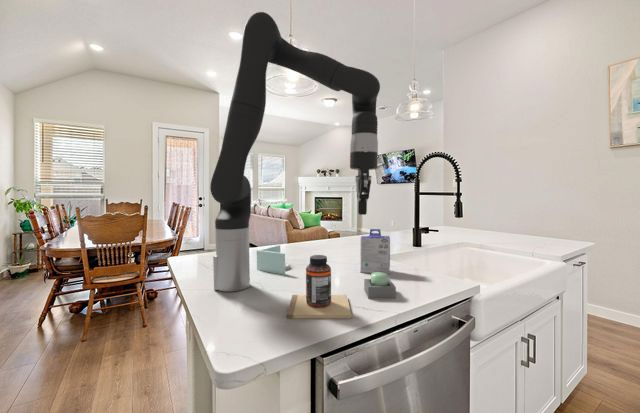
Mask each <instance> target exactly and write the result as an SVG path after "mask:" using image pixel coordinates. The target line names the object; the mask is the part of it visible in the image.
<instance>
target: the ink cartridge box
mask: <svg viewBox="0 0 640 413" xmlns="http://www.w3.org/2000/svg"><path fill="white" fill-rule="evenodd" d="M381 232H382V231H381V228H380V229H378V228H376V229H375V228H374V229H373V228H370V230H369V235H361V237H360V273H367V274H371V273H374V272H382V273H386V274H388V275H390V269H391V268H390V267H391V261H390V260H391V238H390V235H382V234H381Z"/></svg>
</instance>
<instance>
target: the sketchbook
mask: <svg viewBox="0 0 640 413" xmlns="http://www.w3.org/2000/svg"><path fill="white" fill-rule="evenodd" d="M289 301H290V302H289V305H288V310H287V313H286V319H352V311H351V307H350V304H349V300H348V294H331V303H330V304H329V305H327V306H325V307H312V306H310V305H308V304H307V302H306V294H292V295H291V299H290V300H289Z"/></svg>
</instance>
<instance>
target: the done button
mask: <svg viewBox="0 0 640 413" xmlns="http://www.w3.org/2000/svg"><path fill="white" fill-rule="evenodd" d="M388 275H389V274H386V273H382V272H374V273H370V279H371V286H388V279H389V276H388Z"/></svg>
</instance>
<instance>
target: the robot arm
mask: <svg viewBox="0 0 640 413" xmlns="http://www.w3.org/2000/svg"><path fill="white" fill-rule="evenodd" d="M242 35H243V36H242V42H241V53H240V60H239V66H238V71H237V73H236V74H237V75H236V77H235V78H236V79H235V83H234V87H233V91H232V97H231V100H230V104H229V109H228V113H227V120H226V125H225V128H224V133H223V139H222V144H221V149H220V153H219V157H218V160H217V161H216V162H217V163H216V166H215V169H214V171H213V175H212V177H211V180H210V188H209V189H210V194H211V196H212V198H213V199H214V200H215V201H216V202H217V203H219V212H218V215H217V216H216V217H215V220H214V224H215V226H214V227H215V228H214V229H215V230H214V232H215V233H214V234H215V255H213V257H212V258H213V259H212V260H213V264H212V265H213V266H212V267H213V290H214V291H220V292H225V293H226V292H229V293H232V292H237V291H243V290H245V289H247V288H249V287H250V286H251V277H250V276H251V275H250V274H251V272H250V268H251V267H250V266H251V264H250V219H251V214H252V213H251V212H252V211H251V210H252V189H251V188H252V187H251V183H250V180H249V179H248V177H246V176H245V169H246V163H247V161H248V160H247V159H248V155H249V154H250V152H251V149H252V147H253V146H254V144H255V142H256V140H257V138H258V136H259V134H260V131H261V127H262V125H263V120H264V116H265V111H266V105H267V104H266V103H267V99H266V98H267V80H266V79H267V69H268V63H269V64H273V65H277V66H280V67H283V68H285V69H288V70H291V71H293V72H296V73H299V74H301V75H302V76H305V77H307V78H308V79H311V80H313V81H315V82H317V83H319V84H320V85H323V86H324V87H326V88H328V89H331V90H332V91H336V92H340V91H343V92H346V93H348V94H350V95H351V99H352V100H351V104H352V105H351V107H352V108H351V109H352V119H351V120H352V121H351V136H350V137H351V138H350V144H349V146H350V149H349V150H350V152H349V154H350V155H349V168H350V169H351V170H357V172H358V173H357V175H355V178H354V179H355V184H356V185H355V191H356V198H357V201H358V202H357V203H358V205H357V207H358V208H357V213H358V215H360V216H361V215H362V216H363V215H365V216H366V215H367V211H368V208H367V207H368V206H367V205H368V200H369V198H370V192H371V184H372V175H370V171H373V170H377V168H378V160H379V159H378V154H379V153H378V152H379V141H378V140H379V139H378V125H379V124H378V123H379V122H378V116H377V102H378V101H377V98H378V96H379V93H380V89H381V83H380V81H379V79H378V78H377V77H376V76H375V75H374V74H373V73H371V72H368V70H364V69H360V68H357V67H353V66H348V65H345V64H344V63H342V62H340V61H338V60H337V59H334V58H333V57H330V56H328V55H326V54H323V53H319V52H315V51H309V50H308V51H307V50H305V49H302V48H299V47H297V46H294V45H292V44H291V43H290V42H289V41H287V40H286V39H284V38H283V37H282V36H281V33H280V30H279V27H278V25H277V23H276V21H275V19H274V18H273V17H272V16H271V15H270V14H269V13H267V12H264V11H258V12H255V13H253V14H252V15H250V17H249V18H248V19H247V21H246V23H245V24H244V29H243V32H242Z"/></svg>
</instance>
